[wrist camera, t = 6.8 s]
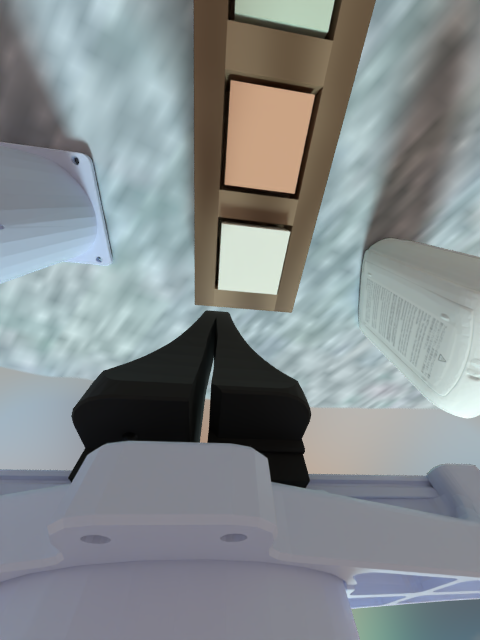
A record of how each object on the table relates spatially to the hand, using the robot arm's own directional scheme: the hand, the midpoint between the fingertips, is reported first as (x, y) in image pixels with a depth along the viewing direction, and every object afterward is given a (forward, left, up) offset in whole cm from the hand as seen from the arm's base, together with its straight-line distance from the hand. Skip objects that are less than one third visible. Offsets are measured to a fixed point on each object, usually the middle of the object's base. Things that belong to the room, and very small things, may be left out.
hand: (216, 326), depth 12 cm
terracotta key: (+2, +9, -7) cm, 12 cm away
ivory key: (+2, +3, -6) cm, 7 cm away
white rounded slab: (+16, 0, -10) cm, 19 cm away
